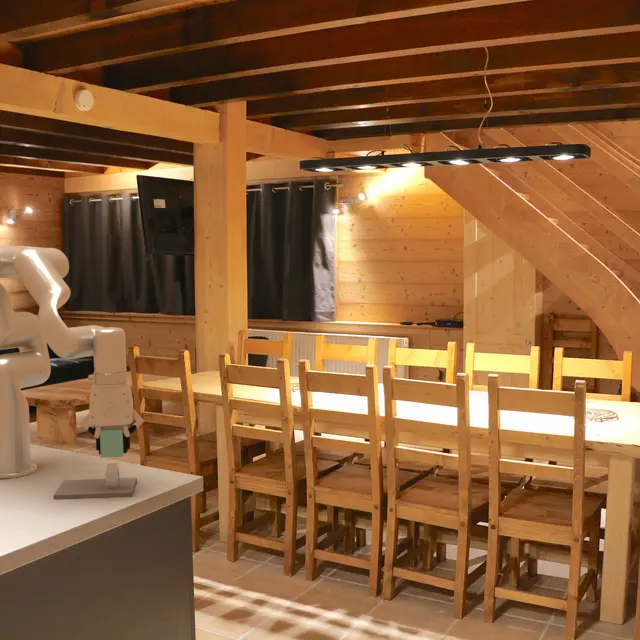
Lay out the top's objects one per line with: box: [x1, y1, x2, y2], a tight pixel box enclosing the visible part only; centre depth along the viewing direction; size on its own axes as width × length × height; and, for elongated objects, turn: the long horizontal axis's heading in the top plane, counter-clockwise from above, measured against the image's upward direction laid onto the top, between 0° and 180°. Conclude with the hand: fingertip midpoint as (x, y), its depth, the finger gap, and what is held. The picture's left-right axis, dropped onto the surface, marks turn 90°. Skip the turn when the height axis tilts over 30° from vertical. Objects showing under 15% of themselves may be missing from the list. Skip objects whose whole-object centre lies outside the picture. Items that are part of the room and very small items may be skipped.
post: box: [105, 462, 120, 489], centre depth 187 cm, size 3×3×6 cm
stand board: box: [53, 477, 138, 500], centre depth 187 cm, size 18×12×1 cm, turn 97°
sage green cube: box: [100, 426, 126, 459], centre depth 185 cm, size 5×5×7 cm
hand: (113, 451), depth 186 cm, fingers closed on sage green cube, 5 cm apart
